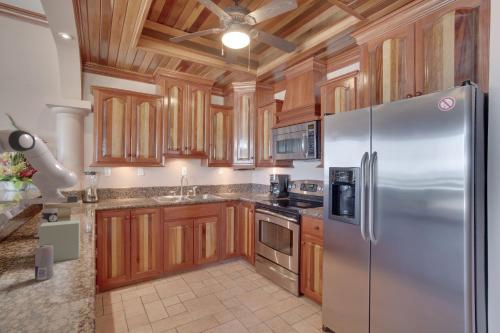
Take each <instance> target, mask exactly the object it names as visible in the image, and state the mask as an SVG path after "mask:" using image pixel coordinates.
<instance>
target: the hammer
mask: <svg viewBox="0 0 500 333" xmlns="http://www.w3.org/2000/svg"><path fill="white" fill-rule="evenodd" d="M78 200H79V194H69V195H67V196H65V197H54V198H42V197H39V198H38V197H37V198H36V197H35V198H34V197H33V198H19V201H18V202H19V204H18V205H19V206H21V205H25V204H31V205H41V204H42V205H43V204H45V203H65V202H67V203H77V202H78Z"/></svg>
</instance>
